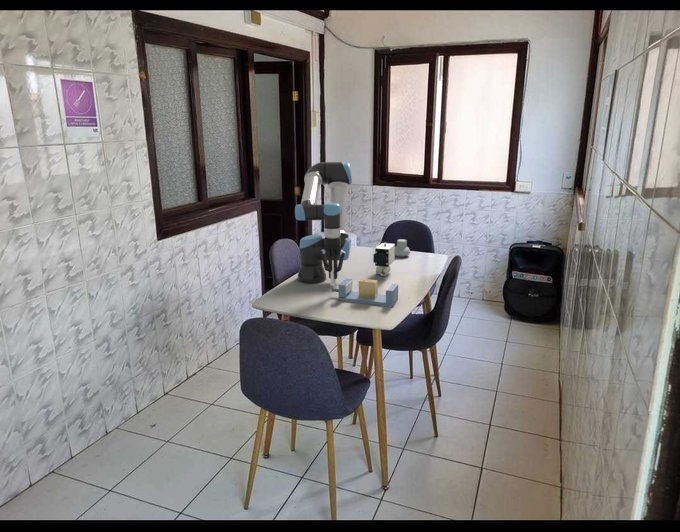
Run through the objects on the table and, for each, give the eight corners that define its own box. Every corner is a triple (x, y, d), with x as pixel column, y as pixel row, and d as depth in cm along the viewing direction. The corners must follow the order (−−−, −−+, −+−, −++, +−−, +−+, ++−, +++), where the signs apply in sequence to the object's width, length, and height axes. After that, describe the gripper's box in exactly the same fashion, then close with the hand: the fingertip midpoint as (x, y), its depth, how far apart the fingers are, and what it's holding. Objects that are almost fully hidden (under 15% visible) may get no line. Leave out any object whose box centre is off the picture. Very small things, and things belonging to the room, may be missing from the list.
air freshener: (411, 257, 300) (411, 241, 297) (398, 258, 298) (398, 242, 295) (404, 253, 310) (405, 238, 307) (392, 254, 308) (392, 238, 305)
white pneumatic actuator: (380, 269, 276) (381, 238, 272) (395, 270, 274) (396, 239, 269) (371, 278, 260) (371, 246, 255) (386, 280, 257) (387, 247, 252)
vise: (338, 300, 229) (338, 285, 227) (345, 293, 238) (345, 278, 236) (392, 306, 220) (392, 291, 218) (398, 299, 229) (398, 284, 227)
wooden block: (358, 297, 228) (358, 281, 226) (361, 294, 232) (361, 278, 229) (375, 299, 225) (375, 282, 223) (377, 296, 229) (377, 280, 227)
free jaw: (328, 295, 230) (328, 283, 228) (336, 289, 239) (336, 277, 237) (345, 297, 227) (345, 285, 225) (352, 290, 236) (352, 279, 234)
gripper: (316, 237, 225) (317, 286, 232) (342, 239, 221) (343, 288, 227) (322, 234, 232) (323, 281, 239) (348, 235, 228) (348, 284, 234)
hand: (333, 285), depth 233 cm, fingers closed
